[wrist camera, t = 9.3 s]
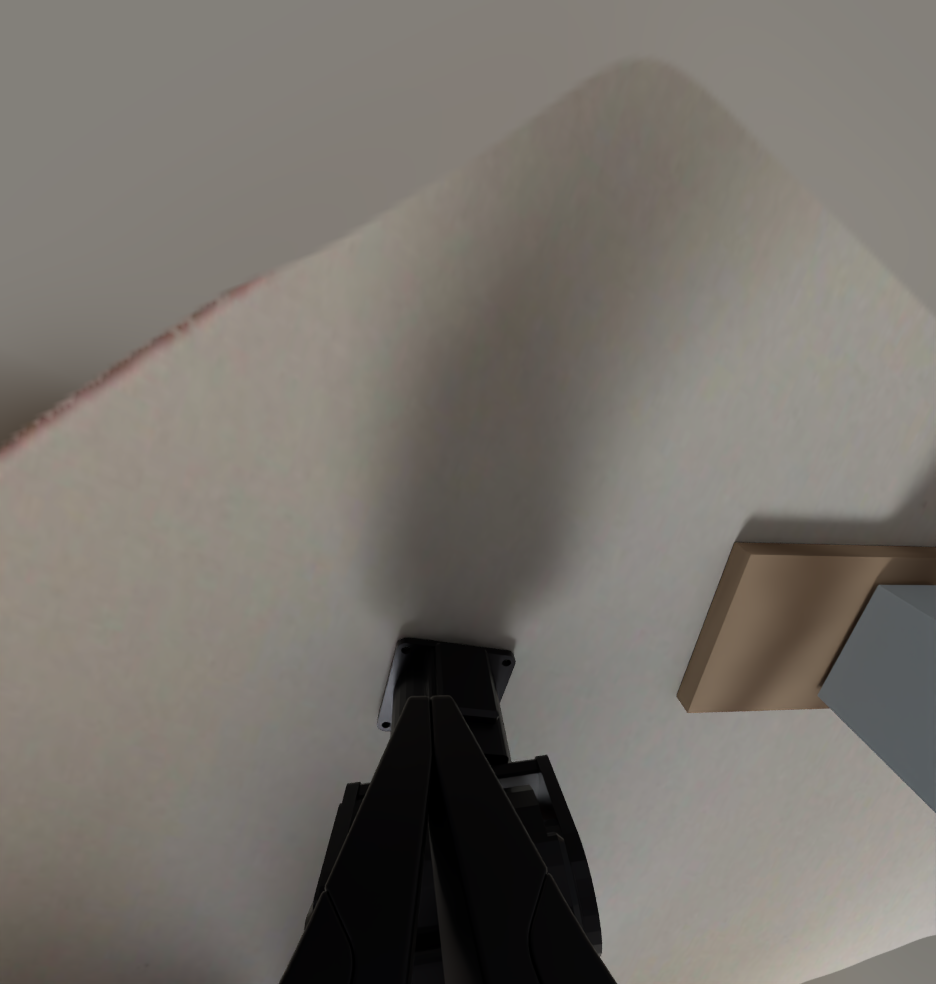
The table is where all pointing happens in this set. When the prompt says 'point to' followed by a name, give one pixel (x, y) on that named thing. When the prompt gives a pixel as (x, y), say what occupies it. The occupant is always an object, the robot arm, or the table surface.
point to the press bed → (788, 621)
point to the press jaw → (892, 683)
